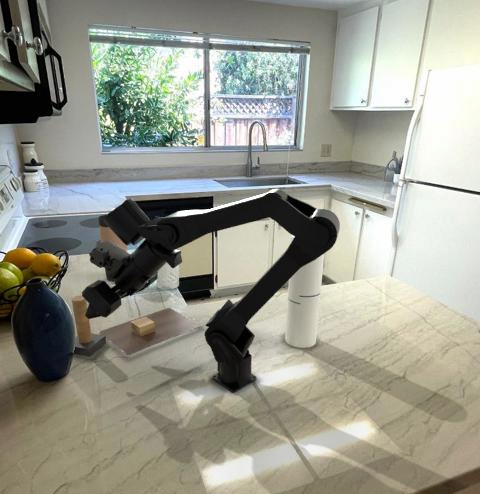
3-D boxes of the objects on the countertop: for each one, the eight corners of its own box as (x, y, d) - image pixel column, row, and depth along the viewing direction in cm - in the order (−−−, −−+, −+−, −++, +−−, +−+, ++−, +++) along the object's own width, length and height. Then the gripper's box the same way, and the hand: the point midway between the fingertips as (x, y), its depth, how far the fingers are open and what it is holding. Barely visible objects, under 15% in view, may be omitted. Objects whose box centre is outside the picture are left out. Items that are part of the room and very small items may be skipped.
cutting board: (201, 329, 98) (201, 325, 98) (128, 360, 86) (127, 355, 85) (169, 311, 108) (169, 307, 107) (98, 336, 95) (97, 331, 95)
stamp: (107, 347, 90) (99, 294, 86) (90, 361, 85) (81, 305, 80) (84, 343, 92) (75, 291, 87) (66, 356, 87) (56, 301, 82)
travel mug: (104, 275, 133) (96, 215, 125) (127, 272, 136) (121, 213, 128) (107, 283, 126) (99, 220, 119) (132, 279, 129) (125, 218, 122)
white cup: (149, 287, 123) (147, 256, 119) (165, 279, 130) (163, 249, 126) (170, 292, 120) (168, 260, 116) (185, 284, 126) (184, 253, 122)
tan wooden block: (155, 331, 95) (154, 322, 94) (140, 337, 92) (139, 327, 92) (146, 325, 98) (145, 316, 97) (131, 331, 95) (130, 321, 94)
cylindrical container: (315, 349, 90) (325, 242, 81) (283, 345, 92) (290, 239, 82) (316, 334, 97) (325, 233, 87) (286, 331, 98) (292, 231, 89)
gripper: (140, 219, 83) (100, 264, 90) (83, 243, 67) (40, 295, 74) (177, 259, 84) (134, 300, 91) (130, 293, 68) (82, 340, 75)
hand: (101, 307), depth 83 cm, fingers open, 9 cm apart
